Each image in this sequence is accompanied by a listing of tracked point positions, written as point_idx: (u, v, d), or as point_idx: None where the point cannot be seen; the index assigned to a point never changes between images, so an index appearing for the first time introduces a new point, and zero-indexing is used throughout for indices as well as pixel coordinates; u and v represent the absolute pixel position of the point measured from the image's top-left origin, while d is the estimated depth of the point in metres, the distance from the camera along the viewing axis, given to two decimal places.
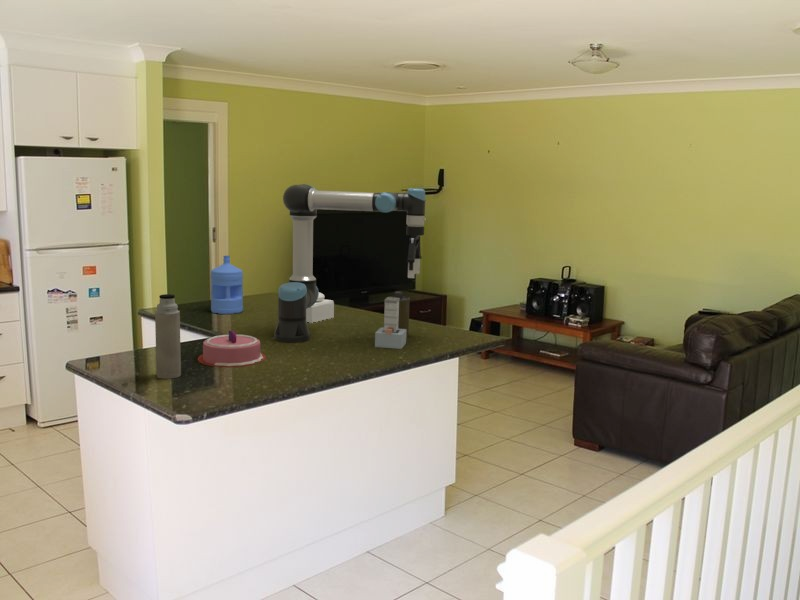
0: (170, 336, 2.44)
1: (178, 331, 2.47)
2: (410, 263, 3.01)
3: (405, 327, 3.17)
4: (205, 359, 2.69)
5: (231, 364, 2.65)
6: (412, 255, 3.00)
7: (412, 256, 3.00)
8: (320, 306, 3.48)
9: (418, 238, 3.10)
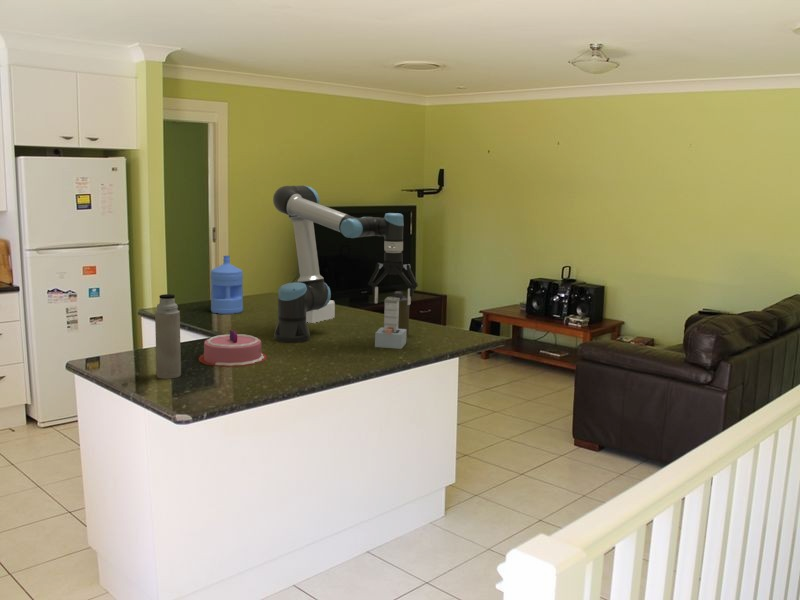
0: (170, 336, 2.44)
1: (178, 331, 2.47)
2: None
3: (405, 327, 3.17)
4: (206, 359, 2.70)
5: (232, 364, 2.65)
6: (370, 279, 2.98)
7: None
8: None
9: (399, 265, 2.94)
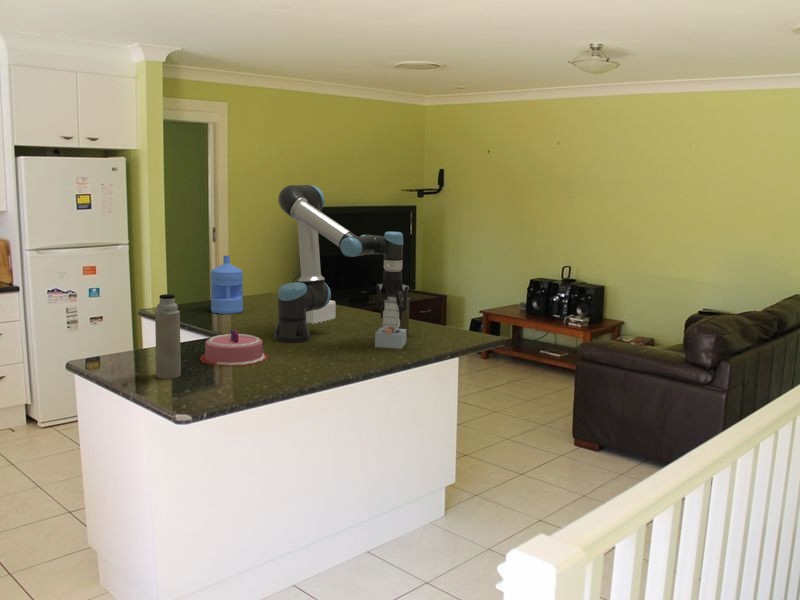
0: (170, 336, 2.44)
1: (178, 331, 2.47)
2: None
3: (405, 327, 3.17)
4: (207, 358, 2.70)
5: (233, 363, 2.66)
6: None
7: None
8: None
9: (398, 284, 2.95)
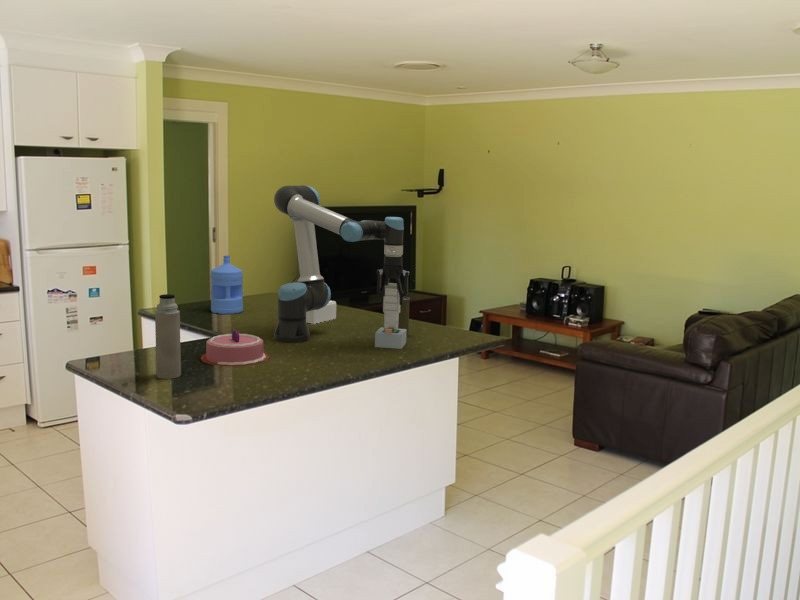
0: (170, 336, 2.44)
1: (178, 331, 2.47)
2: None
3: (405, 327, 3.17)
4: (208, 358, 2.71)
5: (234, 363, 2.66)
6: None
7: None
8: None
9: (399, 269, 2.94)
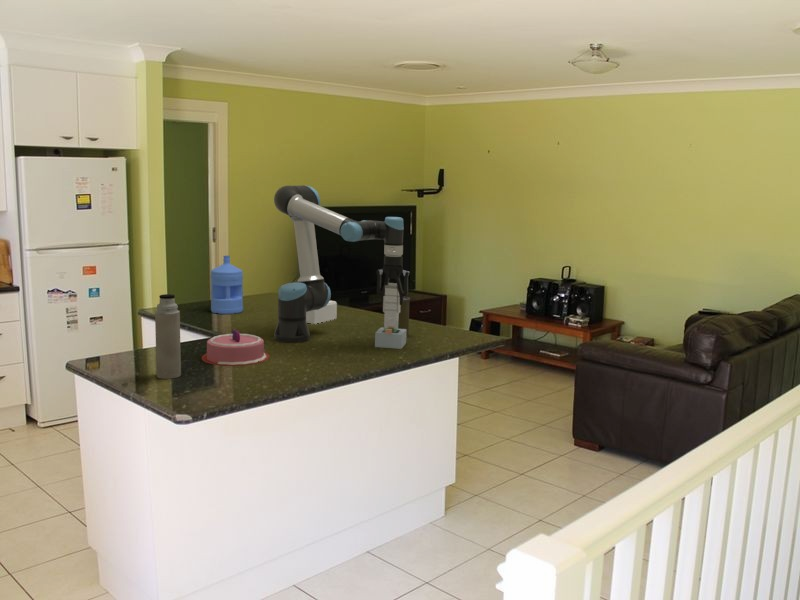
0: (170, 336, 2.44)
1: (178, 331, 2.47)
2: None
3: (405, 327, 3.17)
4: (209, 358, 2.71)
5: (234, 363, 2.66)
6: None
7: None
8: (323, 307, 3.45)
9: (399, 269, 2.94)
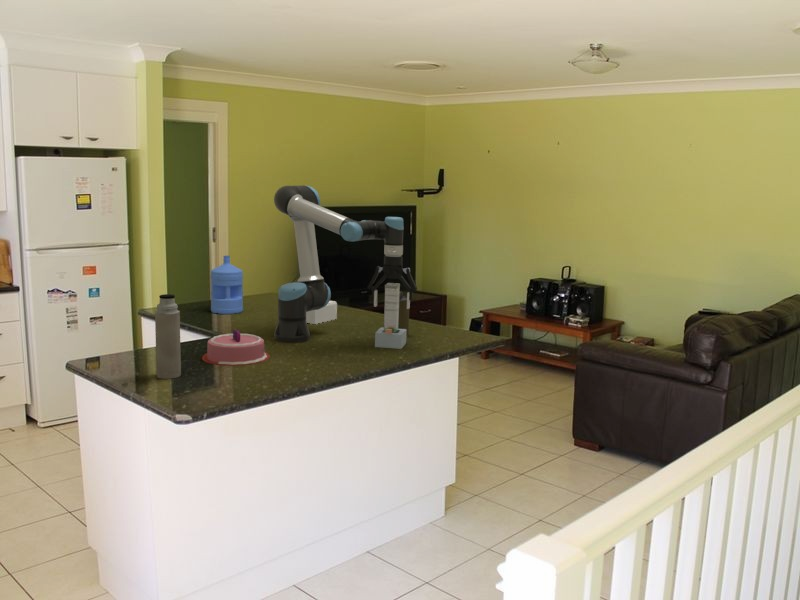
0: (170, 336, 2.44)
1: (178, 331, 2.47)
2: None
3: (405, 327, 3.17)
4: (209, 358, 2.71)
5: (235, 363, 2.67)
6: None
7: (369, 283, 2.98)
8: (323, 307, 3.45)
9: (398, 269, 2.94)
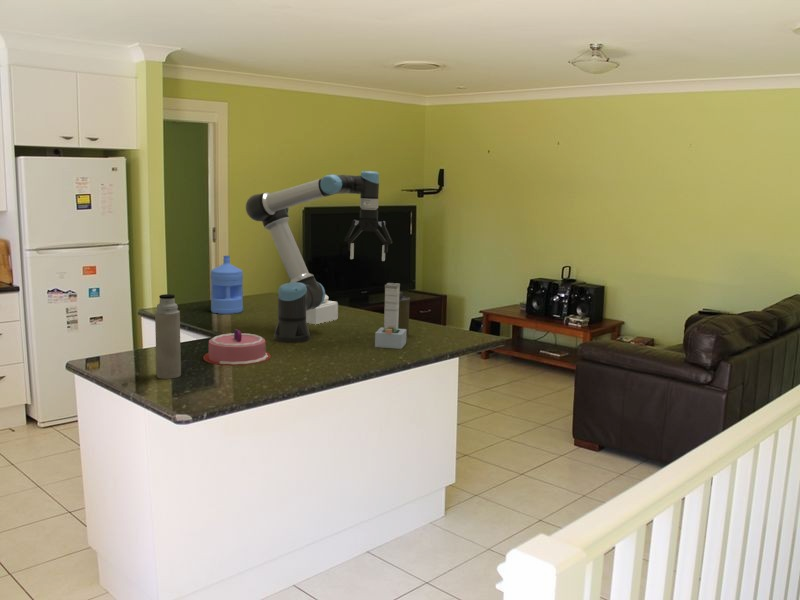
0: (170, 336, 2.44)
1: (178, 331, 2.47)
2: None
3: (405, 327, 3.17)
4: (210, 357, 2.72)
5: (236, 362, 2.67)
6: None
7: None
8: (324, 308, 3.44)
9: (374, 222, 3.03)
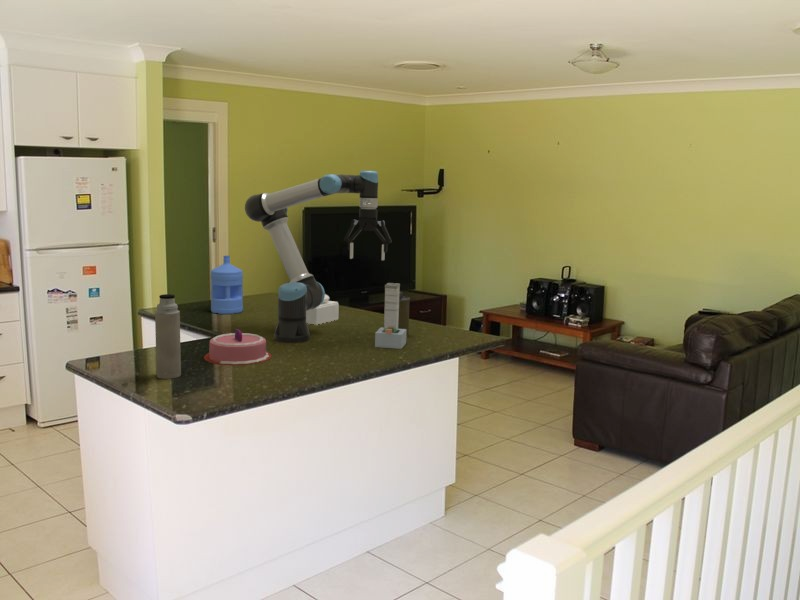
0: (170, 336, 2.44)
1: (178, 331, 2.47)
2: None
3: (405, 327, 3.17)
4: (211, 357, 2.72)
5: (236, 362, 2.67)
6: None
7: None
8: (324, 308, 3.44)
9: (373, 222, 3.03)
